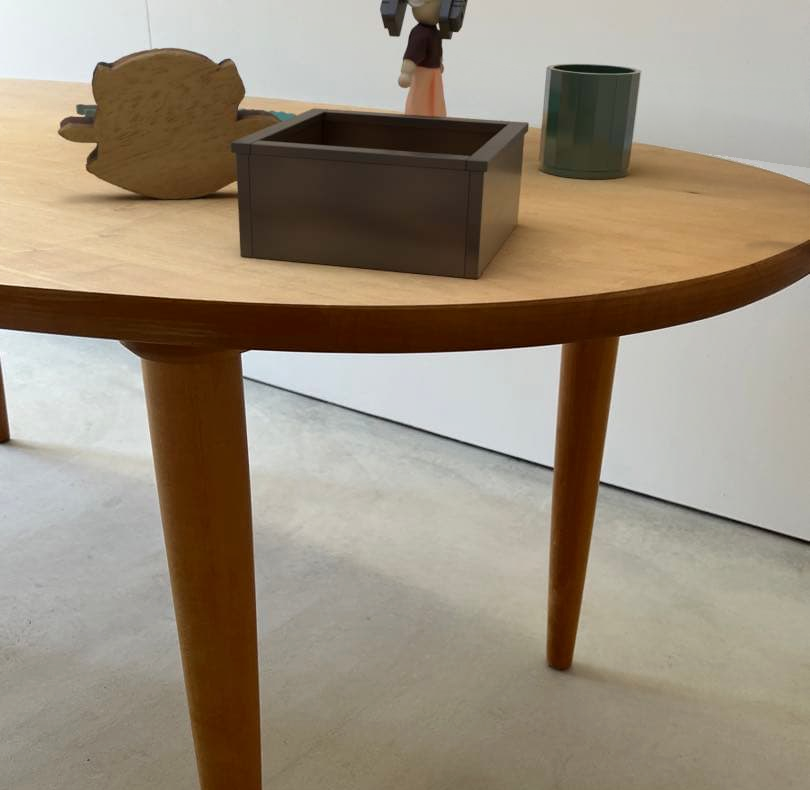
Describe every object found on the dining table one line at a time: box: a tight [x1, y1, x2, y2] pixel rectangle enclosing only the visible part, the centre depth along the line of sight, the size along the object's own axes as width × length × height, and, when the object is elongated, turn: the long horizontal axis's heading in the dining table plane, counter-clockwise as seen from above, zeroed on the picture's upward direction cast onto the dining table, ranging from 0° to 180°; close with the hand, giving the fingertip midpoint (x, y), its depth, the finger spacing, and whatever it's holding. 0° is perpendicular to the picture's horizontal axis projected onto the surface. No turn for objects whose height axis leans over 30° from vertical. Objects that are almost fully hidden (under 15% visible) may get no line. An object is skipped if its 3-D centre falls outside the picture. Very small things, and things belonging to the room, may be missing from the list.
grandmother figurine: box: [397, 0, 447, 117], centre depth 84 cm, size 8×4×13 cm, turn 170°
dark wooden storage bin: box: [231, 107, 530, 280], centre depth 70 cm, size 15×15×7 cm
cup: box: [538, 63, 642, 180], centre depth 92 cm, size 8×8×8 cm
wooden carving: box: [57, 47, 282, 200], centre depth 79 cm, size 16×5×10 cm, turn 109°
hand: (418, 29), depth 81 cm, fingers closed on grandmother figurine, 3 cm apart
